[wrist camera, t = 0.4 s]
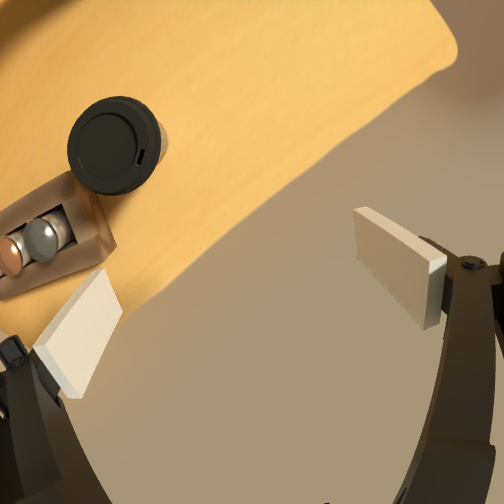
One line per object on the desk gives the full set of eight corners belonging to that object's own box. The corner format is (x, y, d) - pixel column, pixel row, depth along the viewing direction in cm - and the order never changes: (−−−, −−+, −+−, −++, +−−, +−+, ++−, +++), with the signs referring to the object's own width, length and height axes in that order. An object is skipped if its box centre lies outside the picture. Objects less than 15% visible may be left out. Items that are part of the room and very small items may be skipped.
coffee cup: (128, 100, 35) (79, 85, 21) (193, 119, 37) (173, 108, 23) (106, 166, 38) (52, 183, 24) (168, 186, 40) (138, 213, 26)
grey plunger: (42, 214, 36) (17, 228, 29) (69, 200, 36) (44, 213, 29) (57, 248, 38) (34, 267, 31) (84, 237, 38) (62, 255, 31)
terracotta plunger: (13, 231, 36) (-12, 246, 30) (34, 218, 36) (9, 233, 29) (27, 262, 38) (4, 280, 32) (48, 252, 38) (25, 270, 32)
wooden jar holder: (-13, 225, 38) (-33, 235, 33) (86, 166, 37) (67, 171, 32) (14, 286, 43) (-3, 301, 37) (117, 246, 42) (103, 261, 37)
